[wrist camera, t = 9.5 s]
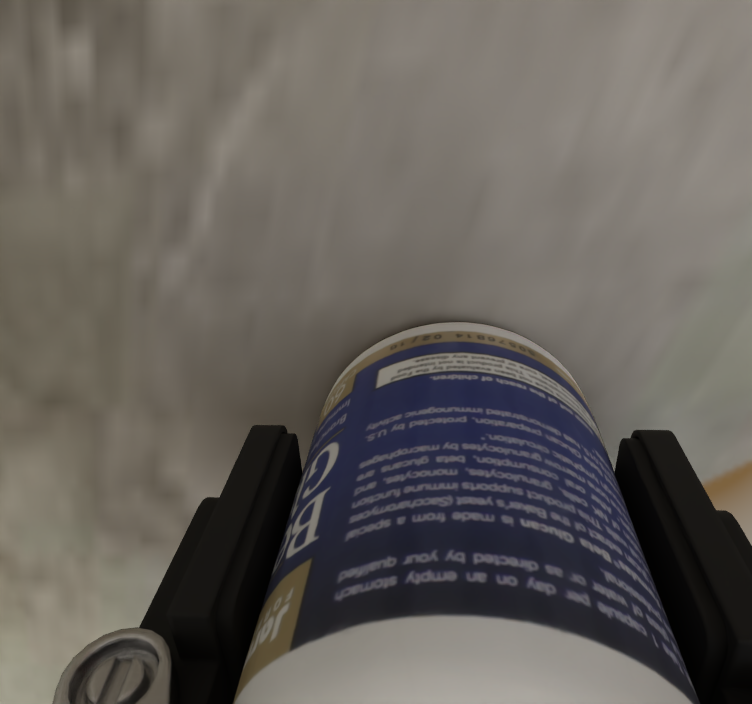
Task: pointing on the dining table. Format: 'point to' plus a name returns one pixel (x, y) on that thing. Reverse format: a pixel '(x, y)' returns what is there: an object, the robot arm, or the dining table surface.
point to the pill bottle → (460, 542)
